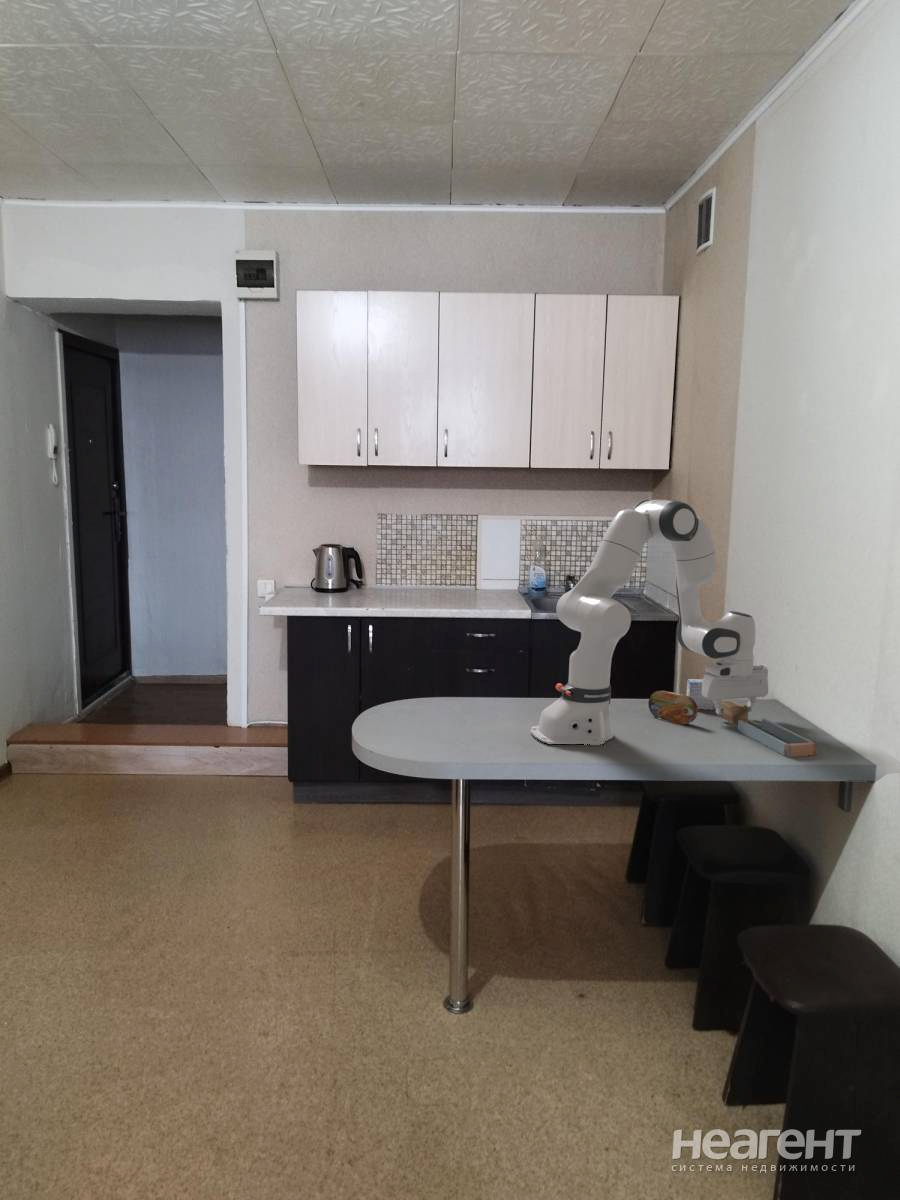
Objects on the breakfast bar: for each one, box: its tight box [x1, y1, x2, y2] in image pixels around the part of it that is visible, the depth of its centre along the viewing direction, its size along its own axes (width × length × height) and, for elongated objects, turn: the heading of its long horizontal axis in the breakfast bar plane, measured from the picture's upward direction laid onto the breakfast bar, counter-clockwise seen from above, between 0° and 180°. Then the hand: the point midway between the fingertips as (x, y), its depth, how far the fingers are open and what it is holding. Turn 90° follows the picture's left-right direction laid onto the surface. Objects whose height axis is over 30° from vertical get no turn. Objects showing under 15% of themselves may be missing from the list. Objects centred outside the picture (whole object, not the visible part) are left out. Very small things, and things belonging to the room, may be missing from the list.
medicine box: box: [686, 678, 715, 711], centre depth 250 cm, size 8×4×9 cm, turn 84°
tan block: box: [716, 700, 749, 725], centre depth 239 cm, size 5×8×4 cm, turn 14°
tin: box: [647, 690, 699, 725], centre depth 237 cm, size 15×3×8 cm, turn 44°
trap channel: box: [737, 718, 818, 758], centre depth 219 cm, size 9×22×3 cm, turn 14°
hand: (733, 712), depth 238 cm, fingers open, 8 cm apart
